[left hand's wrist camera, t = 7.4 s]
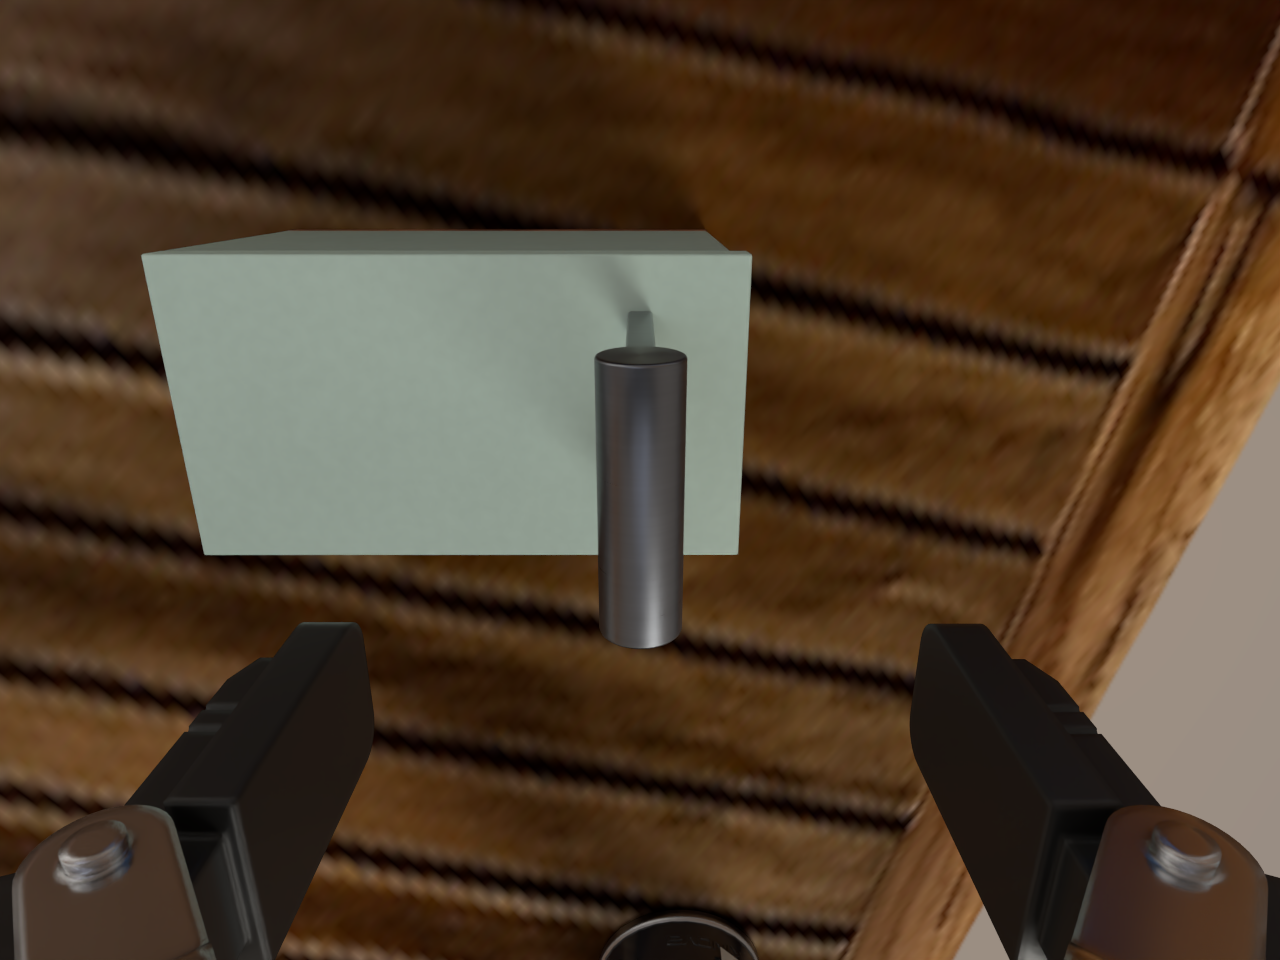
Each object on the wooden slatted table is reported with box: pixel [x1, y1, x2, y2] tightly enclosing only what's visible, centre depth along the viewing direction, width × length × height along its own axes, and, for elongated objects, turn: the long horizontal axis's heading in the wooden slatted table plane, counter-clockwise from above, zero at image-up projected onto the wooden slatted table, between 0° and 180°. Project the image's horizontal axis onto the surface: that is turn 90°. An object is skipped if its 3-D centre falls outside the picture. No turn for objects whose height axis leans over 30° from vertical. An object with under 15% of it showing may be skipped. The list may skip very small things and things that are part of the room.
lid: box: [141, 251, 752, 649], centre depth 21 cm, size 17×9×9 cm, turn 90°
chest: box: [166, 229, 729, 251], centre depth 30 cm, size 17×9×10 cm, turn 90°
